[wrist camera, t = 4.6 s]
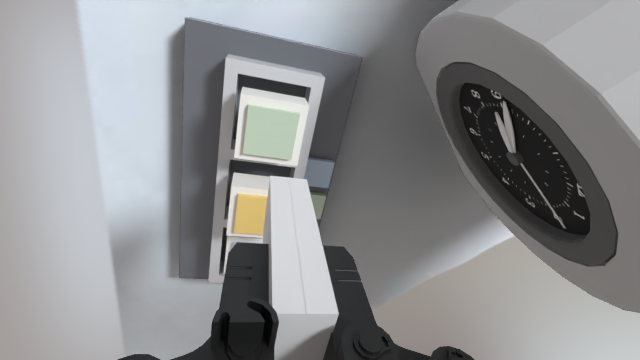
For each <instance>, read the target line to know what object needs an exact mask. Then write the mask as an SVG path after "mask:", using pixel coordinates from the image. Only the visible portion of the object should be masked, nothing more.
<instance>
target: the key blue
mask: <svg viewBox="0 0 640 360" xmlns="http://www.w3.org/2000/svg"><path fill="white" fill-rule="evenodd" d="M237 242H243V243H261V244H263V238H256V237H241V236H227V244H226V254H225V263H224V273H223V274H225V270H226V264H227V258H228V253H229V252H230V250H231V249H232V248H233V247H234V245H235V244H236V243H237Z"/></svg>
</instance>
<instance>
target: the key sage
mask: <svg viewBox="0 0 640 360" xmlns="http://www.w3.org/2000/svg"><path fill="white" fill-rule="evenodd" d="M308 110H309V104H308V102H307V101H306V99H305V98H302V97H296V96H291V95H285V94H280V93H275V92H269V91H264V90H258V89H253V88H247V87H242V91H241V95H240V105H239V114H238V124H237V134H236V144H235V154H234V158H238V159H246V160H254V161H262V162H270V163H277V164H285V165H293V166H297V165H298V160H299V155H300V150H301V145H302V140H303V135H304V130H305V125H306V120H307V115H308Z"/></svg>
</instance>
